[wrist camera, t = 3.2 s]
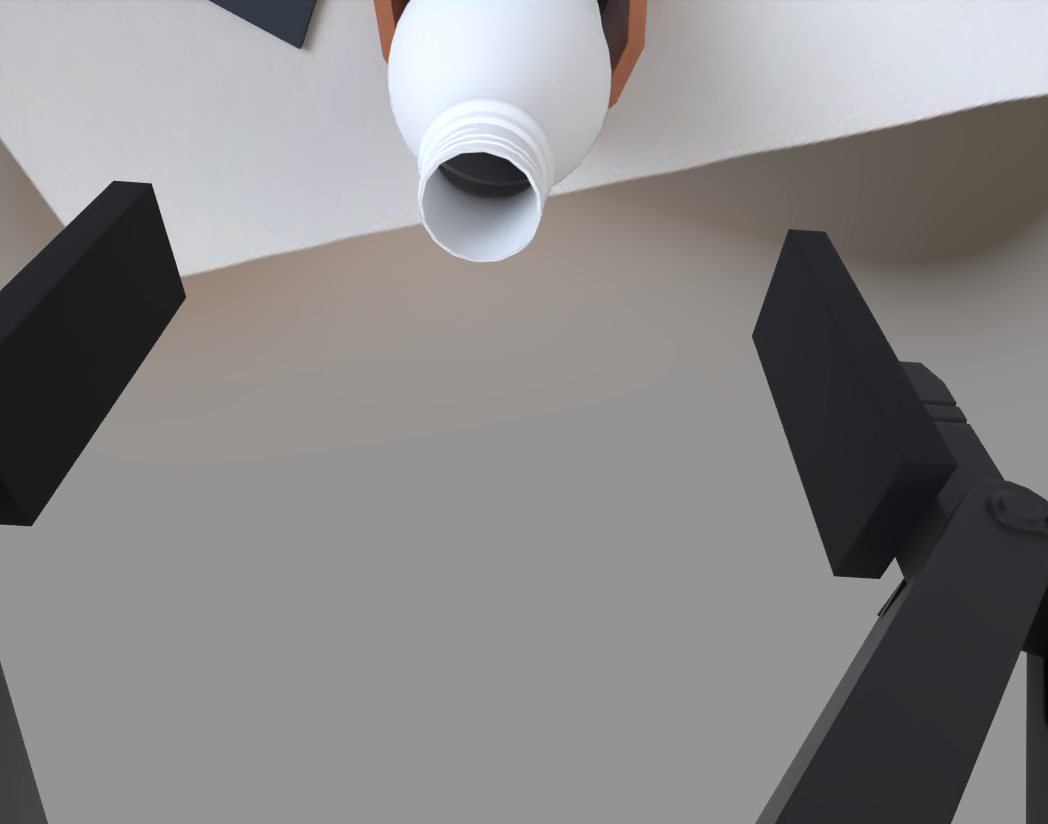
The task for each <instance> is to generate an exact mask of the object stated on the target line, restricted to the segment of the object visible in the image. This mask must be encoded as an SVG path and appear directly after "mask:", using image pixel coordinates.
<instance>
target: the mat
mask: <svg viewBox="0 0 1048 824" xmlns="http://www.w3.org/2000/svg"><path fill="white" fill-rule="evenodd" d="M209 1H211V2H213V3H215V4H217V5H219V6H220V7H222V8H224V9H226V10H228V11H230V12H232V13H233V14H235V15H237V16H239V17H241V18H243V19H245V20H246V21H248V22H250V23H252V24H254V25H256V26H258V27H260V28H261V29H263V30H265V31H267V32H269V33H271V34H273V35H274V36H276V37H278V38H280V39H282V40H284V41H286V42H287V43H289V44H291V45H293V46H295V47H297V48H299V49H301V47H302V45H303V42H304V39H305V35H306V32H307V29H308V26H309V22H310V19H311V16H312V12H313V9H314V6H315V3H316V0H209Z"/></svg>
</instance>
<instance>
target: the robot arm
mask: <svg viewBox="0 0 1048 824" xmlns="http://www.w3.org/2000/svg"><path fill="white" fill-rule="evenodd" d="M185 298H186V295H185V292H184V288H183V285H182V282H181V279H180V275H179V272H178V269H177V265H176V262H175V259H174V255H173V252H172V249H171V246H170V242H169V239H168V236H167V233H166V229H165V226H164V223H163V219H162V216H161V213H160V210H159V206H158V203H157V200H156V196H155V193H154V190H153V187H152V184H151V183H137V182H123V181H113V182H112V183H111V184H110V185H109V186H108V187H107V188H106V189H105V190H104V191H103V192H102V193H101V194H100V195H99V196H97V197H96V198H95V199H94V200H93V201H92V202H91V203H90V204H89V205H88V206H87V207H86V208H85V209H84V210H83V211H82V212H81V213H80V214H79V215H78V216H77V217H76V218H75V219H74V220H73V221H72V222H71V223H70V224H69V225H68V226H67V227H66V228H65V229H64V230H62V232H60V233H59V234H58V235H57V236H56V237H55V238H54V239H53V240H52V241H51V242H50V243H49V244H48V245H47V246H46V247H45V248H44V249H43V250H42V251H41V252H40V253H39V254H38V255H37V256H36V257H35V258H34V259H33V260H32V261H31V262H29V263H28V264H27V265H26V266H25V267H24V268H23V269H22V270H21V271H20V272H19V273H18V274H17V275H16V276H15V277H14V278H13V279H12V280H11V281H10V282H9V283H8V284H7V285H6V286H5V287H4V288H3V289H2V290H1V291H0V524H2V525H17V526H18V525H19V526H32V525H33V523H34V522H35V520H36V519H37V517H38V516H39V515H40V513H41V512H42V510H43V509H44V507H45V506H46V504H47V503H48V501H49V500H50V498H51V497H52V495H53V494H54V492H55V491H56V489H57V488H58V487H59V485H60V484H61V482H62V481H63V479H64V477H65V476H66V475H67V473H68V472H69V470H70V469H71V467H72V466H73V464H74V463H75V461H76V460H77V458H78V457H79V455H80V454H81V452H82V451H83V450H84V448H85V447H86V445H87V444H88V442H89V441H90V439H91V438H92V436H93V435H94V433H95V432H96V430H97V429H98V427H99V426H100V424H101V423H102V421H103V420H104V418H105V417H106V415H107V414H108V413H109V411H110V409H111V408H112V406H113V405H114V404H115V402H116V401H117V399H118V398H119V396H120V395H121V393H122V392H123V390H124V389H125V387H126V386H127V384H128V383H129V381H130V380H131V378H132V377H133V375H134V374H135V373H136V371H137V370H138V368H139V367H140V365H141V364H142V362H143V361H144V359H145V358H146V356H147V355H148V353H149V352H150V350H151V349H152V347H153V346H154V344H155V343H156V341H157V340H158V338H159V337H160V336H161V334H162V332H163V331H164V330H165V328H166V327H167V325H168V324H169V322H170V321H171V319H172V318H173V316H174V315H175V313H176V311H177V310H178V309H179V307H180V306H181V304H182V303H183V301H184V300H185ZM752 338H753V341H754V344H755V346H756V349H757V352H758V355H759V358H760V361H761V364H762V367H763V370H764V373H765V376H766V379H767V381H768V384H769V387H770V390H771V393H772V396H773V399H774V402H775V405H776V408H777V411H778V414H779V417H780V420H781V423H782V425H783V428H784V431H785V434H786V437H787V440H788V443H789V446H790V449H791V451H792V454H793V458H794V461H795V464H796V466H797V469H798V472H799V475H800V478H801V481H802V484H803V487H804V489H805V493H806V496H807V498H808V501H809V504H810V507H811V510H812V513H813V516H814V519H815V522H816V525H817V528H818V531H819V534H820V537H821V539H822V542H823V545H824V548H825V551H826V554H827V557H828V560H829V563H830V566H831V569H832V572H833V575H834V576H840V577H855V578H856V577H857V578H872V579H880V578H881V576H882V575H883V574H884V572H885V571H886V569H887V568H888V566H889V565H890V563H891V562H892V561H893V559H894V558H895V557H896V560H897V562H898V564H899V567H900V569H901V571H902V574H903V576H904V579H903V580H902V582H901V583H900V584H899V586H898V587H897V588H896V590H895V591H894V592H893V594H892V595H891V597H890V598H889V599H888V601H887V602H886V604H885V605H884V606H883V608H882V609H881V610H880V612H879V613H878V614H877V615H878V616H879V618H878V620H877V622H876V623H875V625H874V626H873V628H872V630H871V631H870V633H869V635H868V637H867V638H866V640H865V641H864V643H863V645H862V647H861V648H860V650H859V651H858V653H857V655H856V656H855V658H854V660H853V662H852V663H851V665H850V667H849V668H848V670H847V671H846V673H845V675H844V677H843V678H842V680H841V682H840V683H839V685H838V686H837V688H836V690H835V692H834V693H833V695H832V697H831V698H830V700H829V702H828V703H827V705H826V707H825V708H824V710H823V712H822V713H821V715H820V717H819V718H818V720H817V722H816V723H815V725H814V726H813V728H812V730H811V731H810V733H809V735H808V736H807V738H806V740H805V742H804V743H803V745H802V747H801V748H800V750H799V752H798V753H797V755H796V756H795V758H794V760H793V762H792V763H791V765H790V767H789V768H788V770H787V771H786V773H785V775H784V776H783V778H782V780H781V782H780V783H779V785H778V787H777V788H776V790H775V791H774V793H773V795H772V796H771V798H770V800H769V801H768V803H767V805H766V806H765V808H764V810H763V812H762V813H761V815H760V816H759V818H758V820H757V822H756V823H755V824H951V822H952V820H953V817H954V815H955V812H956V810H957V807H958V805H959V802H960V800H961V797H962V795H963V792H964V790H965V787H966V785H967V783H968V780H969V778H970V775H971V772H972V770H973V768H974V765H975V763H976V760H977V758H978V755H979V753H980V750H981V748H982V746H983V743H984V741H985V738H986V736H987V733H988V730H989V728H990V726H991V723H992V721H993V718H994V716H995V713H996V711H997V708H998V706H999V704H1000V701H1001V699H1002V696H1003V694H1004V691H1005V689H1006V686H1007V684H1008V681H1009V679H1010V676H1011V674H1012V671H1013V669H1014V666H1015V663H1016V662H1017V659H1018V657H1019V654H1020V652H1021V651H1024V652H1027V722H1026V724H1027V725H1026V731H1027V732H1026V734H1027V735H1026V737H1027V738H1026V741H1027V742H1026V824H1048V501H1047V500H1046V499H1044V498H1042V497H1041V496H1039V495H1038V494H1036V493H1034V492H1033V491H1031V490H1030V489H1028V488H1026V487H1023V486H1020V485H1018V484H1015V483H1013V482H1009V481H1005V480H1004V479H1003V477H1002V475H1001V474H1000V472H999V470H998V469H997V467H996V466H995V464H994V462H993V461H992V459H991V458H990V456H989V454H988V453H987V451H986V449H985V448H984V446H983V445H982V443H981V442H980V440H979V438H978V437H977V435H976V434H975V432H974V430H973V429H972V427H971V426H970V424H967V423H966V421H967V419H966V418H965V416H964V414H963V413H962V411H961V409H960V408H959V407H956V401H955V400H954V398H953V397H952V395H951V393H950V392H949V390H948V389H947V387H946V385H945V384H944V382H943V381H942V380H941V379H939V378H938V377H937V376H936V375H934V374H933V373H932V372H931V371H930V370H929V369H928V368H926V367H925V366H924V365H923V364H922V363H915V362H901V361H899V360H898V359H897V357H896V355H895V353H894V352H893V350H892V348H891V346H890V345H889V343H888V341H887V339H886V338H885V336H884V334H883V332H882V330H881V329H880V327H879V325H878V323H877V322H876V320H875V318H874V317H873V315H872V313H871V311H870V309H869V308H868V306H867V304H866V302H865V301H864V299H863V297H862V295H861V294H860V292H859V290H858V288H857V287H856V285H855V283H854V281H853V280H852V278H851V276H850V274H849V273H848V271H847V269H846V267H845V265H844V264H843V262H842V260H841V259H840V257H839V255H838V253H837V251H836V250H835V248H834V246H833V245H832V243H831V241H830V239H829V237H828V236H827V234H826V232H820V231H807V230H792V229H789V230H788V233H787V236H786V239H785V242H784V245H783V248H782V250H781V253H780V256H779V260H778V262H777V265H776V268H775V271H774V274H773V277H772V280H771V282H770V285H769V289H768V291H767V294H766V297H765V300H764V303H763V306H762V309H761V312H760V315H759V317H758V320H757V323H756V326H755V329H754V332H753V335H752ZM0 824H48V822H47V819H46V816H45V812H44V809H43V805H42V802H41V799H40V795H39V792H38V788H37V785H36V782H35V779H34V775H33V771H32V768H31V765H30V761H29V758H28V754H27V751H26V748H25V745H24V741H23V737H22V734H21V731H20V727H19V724H18V720H17V717H16V714H15V710H14V707H13V703H12V700H11V697H10V693H9V690H8V686H7V683H6V680H5V676H4V673H3V670H2V666H1V663H0Z"/></svg>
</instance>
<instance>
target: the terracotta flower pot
mask: <svg viewBox="0 0 1048 824" xmlns="http://www.w3.org/2000/svg"><path fill="white" fill-rule="evenodd" d="M409 2H410V0H374V6H375V12H376V18H377V23H378V29H379V35H380V41H381V47H382V52H383V57H384V59H385V61H386V62H387V64H388V60H389V55H390V49H391V44H392V40H393V37H394V34H395V30H396V27H397V24H398V22H399V20H400V18H401V16H402V14H403V12H404V10H405V8H406V6H407V4H408V3H409ZM646 12H647V0H609V1H608V3H607V5H606V8H605V10H604V12H603V14H602V17H601V24H602V29H603V33H604V36H605V39H606V43H607V46H608V49H609V56H610V64H611V90H610V98H609V104H608V109H609V108H610V107H612V106H613V105H614V104H615V103H616V102H617V100H618V98H619V96H620V94H621V92H622V90H623V88H624V86H625V84H626V82H627V80H628V78H629V76H630V74H631V72H632V70H633V68H634V66H635V64H636V62H637V60H638V58H639V56H640V54H641V52H642V50H643V48H644V44H645V29H646Z"/></svg>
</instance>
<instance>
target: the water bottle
mask: <svg viewBox="0 0 1048 824" xmlns="http://www.w3.org/2000/svg"><path fill="white" fill-rule="evenodd" d="M388 87H389V93H390V100H391V107H392V111H393V114H394V117H395V120H396V123H397V126H398V129H399V131H400V133H401V135H402V137H403V138H404V140H405V142H406V144H407V146H408V148H409V149H410V151H411V152H412V153H413V155H414V156H415V157H416V159H417V160H418V169H419V174H420V179H421V180H420V182H419V189H418V207H419V210H420V214H421V220H422V224H423V225H424V227H425V228H426V230H427V231H428V233H429V234H430V236H431V237H432V239H433V240H434V242H435V243H437V244H438V245H439V246H441V247H442V248H443V249H445V250H446V251H448V252H449V253H450V254H452V255H453V256H456V257H459V258H463V259H466V260H470V261H473V262H491V261H500V260H502V259H504V258H507V257H509V256H511V255H514V254H516V253H518V252H519V251H521V250H522V249H523V248H525V247H526V246H527V245H528V244H529V243H530V242H531V240H532V239H533V237H534V235H535V232H536V230H537V227H538V224H539V222H540V219H541V215H542V211H543V207H544V202H545V201H546V199H547V197H548V195H549V193H550V191H551V188H552V186H554V185H556V184H557V183H559V182H560V181H562V180H563V179H564V178H565V177H567V176H568V175H569V174H570V173H571V172H572V171H573V170H574V169H575V168H576V167H577V166H579V164H580V163H581V162H582V160H583V159H584V158H585V156H586V155H587V154H588V153H589V151H590V150H591V148H592V146H593V144H594V142H595V140H596V138H597V136H598V134H599V132H600V130H601V128H602V126H603V122H604V119H605V116H606V113H607V110H608V104H609V98H610V90H611V64H610V56H609V49H608V46H607V43H606V39H605V36H604V33H603V29H602V24H601V16H600V11H599V6H598V2H597V0H410V2H409V3H408V4H407V6H406V8H405V10H404V12H403V14H402V16H401V18H400V20H399V22H398V24H397V27H396V30H395V34H394V37H393V40H392V44H391V49H390V55H389V60H388Z"/></svg>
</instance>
